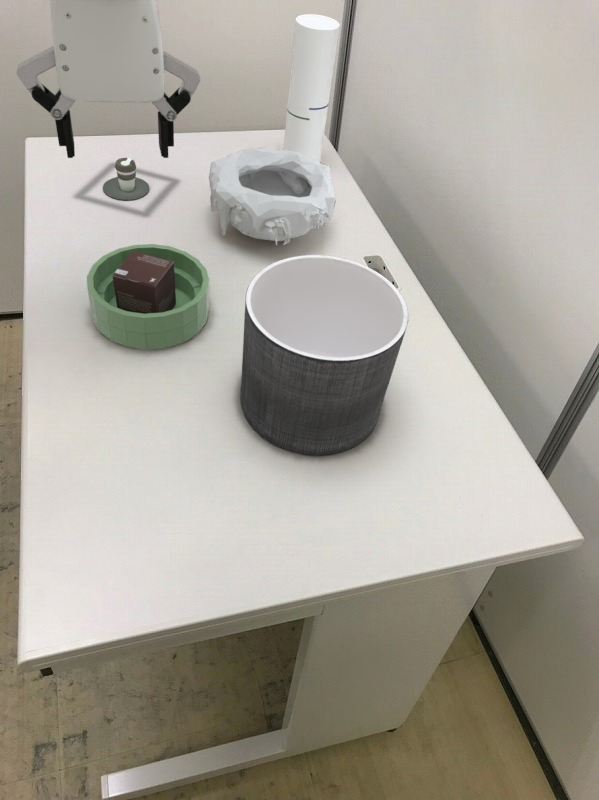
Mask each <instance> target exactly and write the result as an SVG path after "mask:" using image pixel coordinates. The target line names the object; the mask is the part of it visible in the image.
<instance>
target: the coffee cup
mask: <svg viewBox="0 0 599 800" xmlns="http://www.w3.org/2000/svg"><path fill="white" fill-rule="evenodd" d="M114 169H115V170H116V177H112V178H110V179H108V180H106V181H105V182H104V183H103V184H102V191H103V192H104V194H105V195H107V196H108V197H110V198H113V199H116V200H121V201H132V200H133V201H134V200H139V199H141V198H143V197H145V196H146V195H148V194H149V192H150V185H149V183H148V182H147V181H146V180H144V179H142V178H139V177H138V176H137V165H136V162H135V160H134V158H130V157H121V158H118V159H117V160H115V165H114ZM136 176H137V177H136Z"/></svg>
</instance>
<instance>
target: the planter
mask: <svg viewBox="0 0 599 800" xmlns="http://www.w3.org/2000/svg"><path fill="white" fill-rule="evenodd" d="M244 303H245V305H244V318H243V319H244V320H243V322H244V323H243V339H242V340H243V341H242V362H241V379H240V380H241V383H240V391H239V403H240V408H241V410H242V412H243V416H244V417H245V420H246V421H247V422H248V424H249V425H250V426H251V428H252V429H253V430H254V431H255V432H256V433H257V434H258V435H259V436H261V437H262V438H263V439H265V440H266V441H267V442H269V443H271V444H273V445H274V446H277V447H279V448H281V449H285V450H286V451H290V452H292V453H297V454H303V455H313V456H324V455H333V454H337V453H342V452H344V451H347V450H349V449H352V448H354V447H356V446H357V445H359V444H360V443H362V442H363V441H364V440H366V439H367V438H368V437H369V436H370V435H371V434H372V432H373V431H374V430H375V428H376V426H377V424H378V421H379V418H380V414H381V409H382V406H383V403H384V400H385V396H386V394H387V391H388V387H389V384H390V382H391V378H392V375H393V372H394V369H395V365H396V363H397V362H396V361H397V359H398V356H399V353H400V350H401V348H402V347H401V346H402V343H403V341H404V337H405V335H406V330H407V327H408V324H409V309H408V306H407V303H406V300H405V298H404V297H403V295H402V294H401V292H400V291H399V289H398V288H397V287H396V286H395V285H394V284H393V283H392V282H391V281H390V280H389V279H387V278H386V277H385V276H384V275H382V274H380V273H379V272H377V271H376V270H375V269H373V268H370V267H368V266H366V265H364V264H362V263H359V262H357V261H353V260H350V259H347V258H342V257H338V256H333V255H323V254H322V255H321V254H307V255H296V256H291V257H286V258H284V259H280V260H277V261H275V262H273V263H271V264H269V265H267V266H265V267H264V268H262V269H261V270H260V271H258V272H257V274H256V275H255V276H254V277H253V278H252V279H251V280H250V282H249V284H248V286H247V289H246V292H245V302H244Z"/></svg>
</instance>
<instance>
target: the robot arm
mask: <svg viewBox="0 0 599 800" xmlns="http://www.w3.org/2000/svg"><path fill="white" fill-rule="evenodd" d="M49 4H50V23H51V33H52V44H53V45H52V46H50V47H48V48H46V49H45V50H43V51H41V52H39V53H37V54H35V55H33V56H31V57H30V58H28V59H25V60H24V61H22V62H19V63H18V65H17V66H16V76H17V77H18V78H19V80H20V81H21V82H22V84H23V85H24V87H25V88H26V90H27V91H28V93H30V95H31V97H32V99H33V100H34V101H35V102H36V103H37V104H38V105H40V106H41V107H42V108H43V109H44V110H46V111H47V112H48V113H49V114H50V116H51V118H52V119H54V121H55V127H56V135H57V141H58V146H59V147H65V148H66V149H65V150H66V156H67V158H68V159H73V158H74V157H76V152H75V151H76V149H75V137H74V131H73V125H72V124H73V123H72V118H71V117H72V116H71V110H70V109H71V108H72V106H73V105H74V103H75V102H83V103H84V102H86V103H119V104H121V103H122V104H128V103H129V104H132V103H133V104H148V103H152V105H153V106H154V107H155V108H156V109H157V110H158V111H157V127H158V129H157V130H158V131H157V132H158V133H157V134H158V147H159V151H160V156H161V157H162V158H163V159H168V158H169V147H171V148H172V147H175V133H174V132H175V129H174V128H175V127H174V126H175V125H174V124H175V123H174V121H176V119H177V118H178V115H179V114H181V112H182V111H183V110H184V109H185V108H186V107H187V106H188V105H189V104H190V103H191V100H192V97H193V95H194V94H195V92H196V90H197V88H198V86H199V84H200V83H201V76H200V73H199V71H198V69H196V68H194V67H193V66H190V65H189V64H187V63H185V62H184V61H182V60H181V59H178V58H177V57H175V56H173V55H171V54H170V53H168V52H166V51H165V50H164V46H163V35H162V29H161V28H162V27H161V21H160V14H159V12H160V11H159V3H158V0H50V1H49ZM52 68H55V71H56V78H57V83H58V87H59V88H58V89H57V90H56V92H55V93H53V92H52V91H51V90H50V89H49V88H48V87H47V86H45V85H44V84H43V83H42V82H41V81H40V79H39V77H38V76H39V75H41V74H44V73H46V72H47V71H49V70H50V69H52ZM165 71H166V72H168V73H170V74H172V75H174V76H175V77H177V78H179V79H181V80H182V81H181V82H180V83H181V84H180V86H179V87H178V88H177V89H176V90H175V91H174V92H173V93H172V94H171V95H170V96H169V95H168V94H167V92H166V89H165V88H166V79H165V77H166V75H165Z"/></svg>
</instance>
